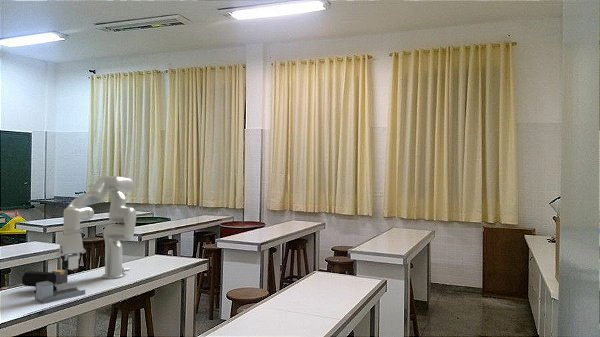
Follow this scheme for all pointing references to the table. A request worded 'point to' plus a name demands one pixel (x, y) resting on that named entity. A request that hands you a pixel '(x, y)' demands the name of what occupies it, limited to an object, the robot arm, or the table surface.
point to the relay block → (61, 276)
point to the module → (72, 261)
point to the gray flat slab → (62, 294)
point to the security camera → (38, 278)
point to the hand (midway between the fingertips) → (71, 266)
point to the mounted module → (44, 290)
